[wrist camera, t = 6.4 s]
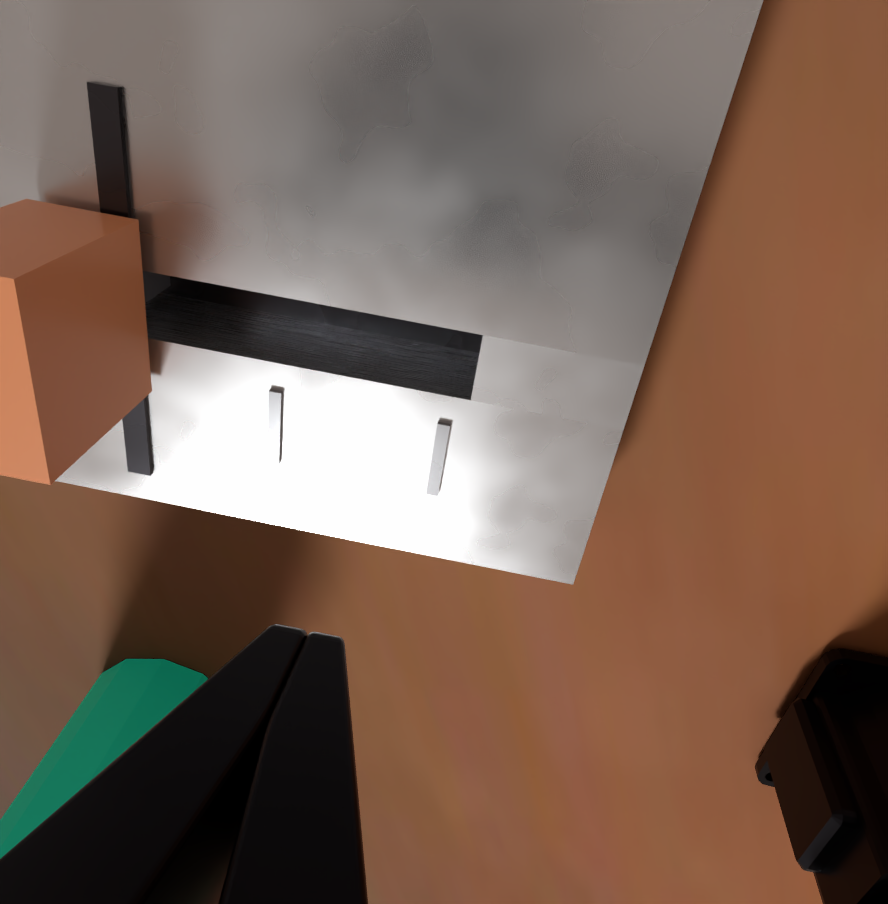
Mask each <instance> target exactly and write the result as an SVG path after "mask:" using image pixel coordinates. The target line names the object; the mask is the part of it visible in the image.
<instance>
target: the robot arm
mask: <svg viewBox="0 0 888 904" xmlns="http://www.w3.org/2000/svg"><path fill="white" fill-rule="evenodd" d="M840 664H843V665H840ZM837 665H840V666H837ZM755 770H756V773H757V777H758V780H759V781H760V782H761V783H762V784H765V785H768V786H773V787H775V790H776V793H777V797H778V800H779V803H780V807H781V810H782V814H783V817H784V821H785V824H786V827H787V831H788V834H789V838H790V841H791V845H792V848H793V851H794V855H795V858H796V861H797V862H798V864H799V865H800V867H801V868H802V869H803V870H805V871H810V872H813V873H814V876H815V879H816V883H817V886H818V889H819V892H820V896H821V899H822V902H823V904H888V658H887V657H882V656H877V655H872V654H867V653H862V652H857V651H852V650H847V649H834V650H830V651H828V652H827V653H825V654H824V655H823V656H822V658H821V659H820V661H819V662H818V664H817V666H816V667H815V669H814V670H813V672H812V674H811V675H810V677H809V679H808V680H807V682H806V683H805V685H804V687H803V688H802V690H801V691H800V693H799V695H798V696H797V698H796V700H795V701H794V702H793V703H791V705H790V706H789V708H788V710H787V711H786V713H785V714H784V716H783V718H782V719H781V721H780V723H779V724H778V726H777V727H776V729H775V731H774V732H773V734H772V736H771V737H770V739H769V740H768V742H767V744H766V745H765V747H764V751H763V753H762V755H761V756H760V758H759V759H758V761H757V763H756V765H755ZM0 904H368V898H367V887H366V875H365V864H364V853H363V842H362V831H361V820H360V809H359V798H358V787H357V776H356V765H355V754H354V743H353V732H352V721H351V710H350V699H349V687H348V676H347V665H346V654H345V645H344V640H343V639H342V638H341V637H339V636H334V635H329V634H324V633H319V632H311V633H309V634H308V635H307V632H306V631H305V630H303V629H299V628H294V627H289V626H284V625H279V624H275V625H271V626H269V627H268V628H267V629H266V630H264V631H263V632H262V633H261V634H260V635H259V636H257V637H256V638H255V639H254V640H253V641H252V642H251V643H249V644H248V645H247V646H246V647H245V648H244V649H242V650H241V651H240V652H239V653H238V654H237V655H235V656H234V657H233V658H232V659H231V660H230V661H229V662H227V663H226V664H225V665H224V666H223V667H222V668H220V669H219V670H218V671H217V672H216V673H215V674H214V675H212V676H211V677H210V678H209V679H208V680H207V681H205V682H204V683H203V684H202V685H201V686H200V687H198V688H197V689H196V690H195V691H194V692H193V693H192V694H190V695H189V696H188V697H187V698H186V699H185V700H183V701H182V702H181V703H180V704H179V705H178V706H177V707H175V708H174V709H173V710H172V711H171V712H170V713H168V714H167V715H166V716H165V717H164V718H163V719H161V720H160V721H159V722H158V723H157V724H156V725H155V726H153V727H152V728H151V729H150V730H149V731H148V732H146V733H145V734H144V735H143V736H142V737H141V738H139V739H138V740H137V741H136V742H135V743H134V744H133V745H131V746H130V747H129V748H128V749H127V750H126V751H124V752H123V753H122V754H121V755H120V756H119V757H117V758H116V759H115V760H114V761H113V762H112V763H111V764H109V765H108V766H107V767H106V768H105V769H104V770H102V771H101V772H100V773H99V774H98V775H97V776H96V777H94V778H93V779H92V780H91V781H90V782H89V783H87V784H86V785H85V786H84V787H83V788H82V789H80V790H79V791H78V792H77V793H76V794H75V795H74V796H72V797H71V798H70V799H69V800H68V801H67V802H65V803H64V804H63V805H62V806H61V807H60V808H58V809H57V810H56V811H55V812H54V813H53V814H52V815H50V816H49V817H48V818H47V819H46V820H45V821H43V822H42V823H41V824H40V825H39V826H38V827H37V828H35V829H34V830H33V831H32V832H31V833H30V834H28V835H27V836H26V837H25V838H24V839H23V840H21V841H20V842H19V843H18V844H17V845H16V846H15V847H13V848H12V849H11V850H10V851H9V852H8V853H6V854H5V855H4V856H3V857H2V858H1V859H0Z"/></svg>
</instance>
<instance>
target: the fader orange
mask: <svg viewBox="0 0 888 904" xmlns="http://www.w3.org/2000/svg"><path fill="white" fill-rule="evenodd" d="M169 286H171V284H170V276H168V275H163V274H158V273H152V272H147V271H143V270H142V258H141V245H140V232H139V220H138V219H132V218H127V217H122V216H116V215H111V214H106V213H100V212H95V211H90V210H84V209H79V208H73V207H68V206H63V205H57V204H52V203H47V202H41V201H36V200H31V199H24V200H21V201H18V202H15V203H12V204H9V205H6V206H3V207H0V475H3V476H8V477H13V478H18V479H23V480H28V481H33V482H38V483H43V484H48V485H51V484H52V483H53V482H54V481H55V480H56V479H57V478H58V477H60V476H61V475H62V474H63V473H64V472H65V471H66V470H67V469H68V468H69V467H70V466H71V465H73V464H74V463H75V462H76V461H77V460H78V459H79V458H80V457H81V456H82V455H83V454H85V453H86V452H87V451H88V450H89V449H90V448H91V447H92V446H93V445H94V444H95V443H96V442H98V441H99V440H100V439H101V438H102V437H103V436H104V435H105V434H106V433H107V432H108V431H109V430H111V429H112V428H113V427H114V426H115V425H116V424H117V423H118V422H119V421H120V420H121V419H122V418H124V417H125V416H126V415H127V414H128V413H129V412H130V411H131V410H132V409H133V408H134V407H136V406H137V405H138V404H139V403H140V402H141V401H142V400H143V399H144V398H145V397H146V396H147V395H149V394H150V393H151V392H152V385H151V372H150V359H149V347H148V334H147V321H146V308H145V303H146V302H147V301H149V300H150V299H152V298H153V297H155V296H156V295H158V294H159V293H160V292H162V291H163V290H165V289H166V288H168V287H169Z"/></svg>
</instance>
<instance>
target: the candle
mask: <svg viewBox="0 0 888 904" xmlns="http://www.w3.org/2000/svg"><path fill="white" fill-rule="evenodd" d="M207 680H208V678H207V677H206V676H205V675H204V674H202V673H200V672H197V671H194V670H192V669H189V668H186V667H184V666H181V665H178V664H176V663H173V662H170V661H168V660H165V659H125V660H123V661H122V662H120V663H118V664H117V665H115V666H113V667H111V668H110V669H108V670H106V671H104V672H103V673H102V674H101V675H100V677H99V678H98V679H97V681H96V682H95V684H94V685H93V687H92V688H91V690H90V691H89V692H88V694H87V695H86V697H85V698H84V700H83V701H82V703H81V704H80V705H79V707H78V708H77V710H76V711H75V713H74V714H73V716H72V717H71V719H70V720H69V721H68V723H67V724H66V726H65V727H64V729H63V730H62V732H61V733H60V734H59V736H58V737H57V739H56V740H55V742H54V743H53V745H52V746H51V747H50V749H49V750H48V752H47V753H46V755H45V756H44V758H43V759H42V761H41V762H40V763H39V765H38V766H37V768H36V769H35V771H34V772H33V774H32V775H31V776H30V778H29V779H28V781H27V782H26V784H25V785H24V787H23V788H22V789H21V791H20V792H19V794H18V795H17V797H16V798H15V800H14V801H13V803H12V804H11V805H10V807H9V808H8V810H7V811H6V813H5V814H4V816H3V817H2V818H1V820H0V859H1V858H2V857H3V856H4V855H5V854H6V853H8V852H9V851H10V850H11V849H12V848H13V847H15V846H16V845H17V844H18V843H19V842H20V841H21V840H23V839H24V838H25V837H26V836H27V835H28V834H30V833H31V832H32V831H33V830H34V829H35V828H37V827H38V826H39V825H40V824H41V823H42V822H43V821H45V820H46V819H47V818H48V817H49V816H50V815H52V814H53V813H54V812H55V811H56V810H57V809H58V808H60V807H61V806H62V805H63V804H64V803H65V802H67V801H68V800H69V799H70V798H71V797H72V796H74V795H75V794H76V793H77V792H78V791H79V790H80V789H82V788H83V787H84V786H85V785H86V784H87V783H89V782H90V781H91V780H92V779H93V778H94V777H96V776H97V775H98V774H99V773H100V772H101V771H102V770H104V769H105V768H106V767H107V766H108V765H109V764H111V763H112V762H113V761H114V760H115V759H116V758H117V757H119V756H120V755H121V754H122V753H123V752H124V751H126V750H127V749H128V748H129V747H130V746H131V745H133V744H134V743H135V742H136V741H137V740H138V739H139V738H141V737H142V736H143V735H144V734H145V733H146V732H148V731H149V730H150V729H151V728H152V727H153V726H155V725H156V724H157V723H158V722H159V721H160V720H161V719H163V718H164V717H165V716H166V715H167V714H168V713H170V712H171V711H172V710H173V709H174V708H175V707H177V706H178V705H179V704H180V703H181V702H182V701H183V700H185V699H186V698H187V697H188V696H189V695H190V694H192V693H193V692H194V691H195V690H196V689H197V688H198V687H200V686H201V685H202V684H203V683H204V682H205V681H207Z"/></svg>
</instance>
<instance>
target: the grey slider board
mask: <svg viewBox="0 0 888 904" xmlns="http://www.w3.org/2000/svg"><path fill="white" fill-rule="evenodd" d="M762 3H763V0H0V207H3V206H6V205H9V204H12V203H15V202H18V201H21V200H24V199H31V200H36V201H41V202H47V203H52V204H57V205H63V206H68V207H73V208H79V209H84V210H90V211H95V212H100V213H106V214H111V215H116V216H122V217H127V218H132V219H138V220H139V232H140V245H141V258H142V270H143V271H147V272H152V273H158V274H163V275H168V276H170V284H171V286H169V287H168V288H166V289H165V290H163V291H162V292H160V293H159V294H158V295H156V296H155V297H153V298H152V299H150V300H149V301H147V302H146V303H145V308H146V321H147V334H148V347H149V359H150V372H151V385H152V392H151V393H150V394H149V395H147V396H146V397H145V398H144V399H143V400H142V401H141V402H140V403H139V404H138V405H137V406H136V407H134V408H133V409H132V410H131V411H130V412H129V413H128V414H127V415H126V416H125V417H124V418H122V419H121V420H120V421H119V422H118V423H117V424H116V425H115V426H114V427H113V428H112V429H111V430H109V431H108V432H107V433H106V434H105V435H104V436H103V437H102V438H101V439H100V440H99V441H98V442H96V443H95V444H94V445H93V446H92V447H91V448H90V449H89V450H88V451H87V452H86V453H85V454H83V455H82V456H81V457H80V458H79V459H78V460H77V461H76V462H75V463H74V464H73V465H71V466H70V467H69V468H68V469H67V470H66V471H65V472H64V473H63V474H62V475H61V476H60V477H58V478H57V479H56V480H55V481H59V482H64V483H69V484H74V485H79V486H84V487H89V488H94V489H99V490H104V491H109V492H114V493H119V494H124V495H129V496H134V497H139V498H144V499H149V500H154V501H159V502H164V503H169V504H174V505H179V506H184V507H189V508H194V509H199V510H204V511H209V512H214V513H219V514H224V515H229V516H234V517H239V518H244V519H249V520H254V521H259V522H264V523H268V524H273V525H278V526H283V527H288V528H293V529H298V530H303V531H308V532H313V533H318V534H323V535H328V536H333V537H338V538H343V539H348V540H353V541H358V542H363V543H368V544H373V545H378V546H383V547H388V548H393V549H398V550H403V551H408V552H413V553H418V554H423V555H428V556H433V557H438V558H443V559H448V560H453V561H458V562H463V563H468V564H473V565H478V566H483V567H488V568H493V569H498V570H503V571H508V572H513V573H518V574H523V575H528V576H533V577H538V578H543V579H548V580H553V581H558V582H563V583H568V584H573V583H574V580H575V577H576V574H577V571H578V568H579V565H580V562H581V559H582V556H583V553H584V550H585V546H586V543H587V540H588V537H589V534H590V531H591V528H592V525H593V522H594V519H595V516H596V513H597V510H598V507H599V504H600V500H601V497H602V494H603V491H604V488H605V485H606V482H607V479H608V476H609V473H610V470H611V467H612V464H613V461H614V457H615V454H616V451H617V448H618V445H619V442H620V439H621V436H622V433H623V430H624V427H625V424H626V421H627V418H628V415H629V411H630V408H631V405H632V402H633V399H634V396H635V393H636V390H637V387H638V384H639V381H640V378H641V375H642V372H643V368H644V365H645V362H646V359H647V356H648V353H649V350H650V347H651V344H652V341H653V338H654V335H655V332H656V329H657V326H658V322H659V319H660V316H661V313H662V310H663V307H664V304H665V301H666V298H667V295H668V292H669V289H670V286H671V283H672V279H673V276H674V273H675V270H676V267H677V264H678V261H679V258H680V255H681V252H682V249H683V246H684V243H685V240H686V237H687V233H688V230H689V227H690V224H691V221H692V218H693V215H694V212H695V209H696V206H697V203H698V200H699V197H700V194H701V190H702V187H703V184H704V181H705V178H706V175H707V172H708V169H709V166H710V163H711V160H712V157H713V154H714V151H715V148H716V144H717V141H718V138H719V135H720V132H721V129H722V126H723V123H724V120H725V117H726V114H727V111H728V108H729V105H730V101H731V98H732V95H733V92H734V89H735V86H736V83H737V80H738V77H739V74H740V71H741V68H742V65H743V62H744V59H745V55H746V52H747V49H748V46H749V43H750V40H751V37H752V34H753V31H754V28H755V25H756V22H757V19H758V16H759V12H760V9H761V6H762Z"/></svg>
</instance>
